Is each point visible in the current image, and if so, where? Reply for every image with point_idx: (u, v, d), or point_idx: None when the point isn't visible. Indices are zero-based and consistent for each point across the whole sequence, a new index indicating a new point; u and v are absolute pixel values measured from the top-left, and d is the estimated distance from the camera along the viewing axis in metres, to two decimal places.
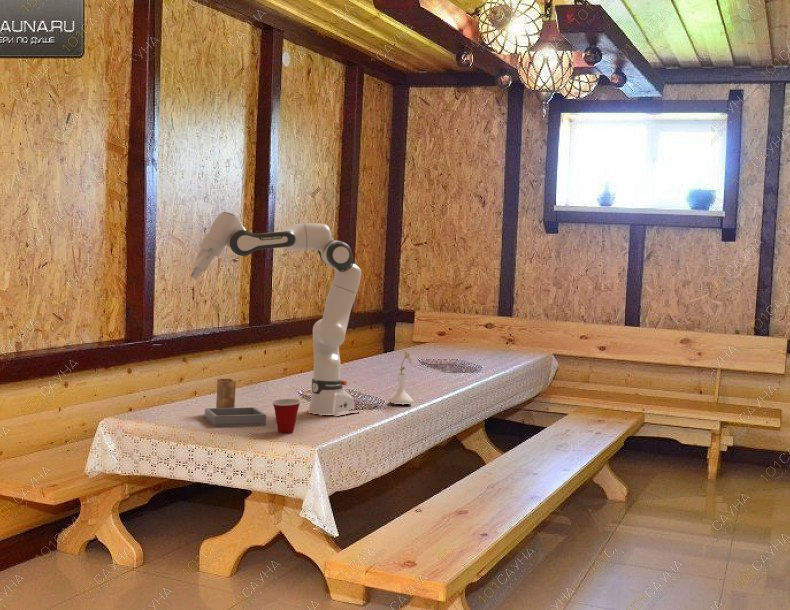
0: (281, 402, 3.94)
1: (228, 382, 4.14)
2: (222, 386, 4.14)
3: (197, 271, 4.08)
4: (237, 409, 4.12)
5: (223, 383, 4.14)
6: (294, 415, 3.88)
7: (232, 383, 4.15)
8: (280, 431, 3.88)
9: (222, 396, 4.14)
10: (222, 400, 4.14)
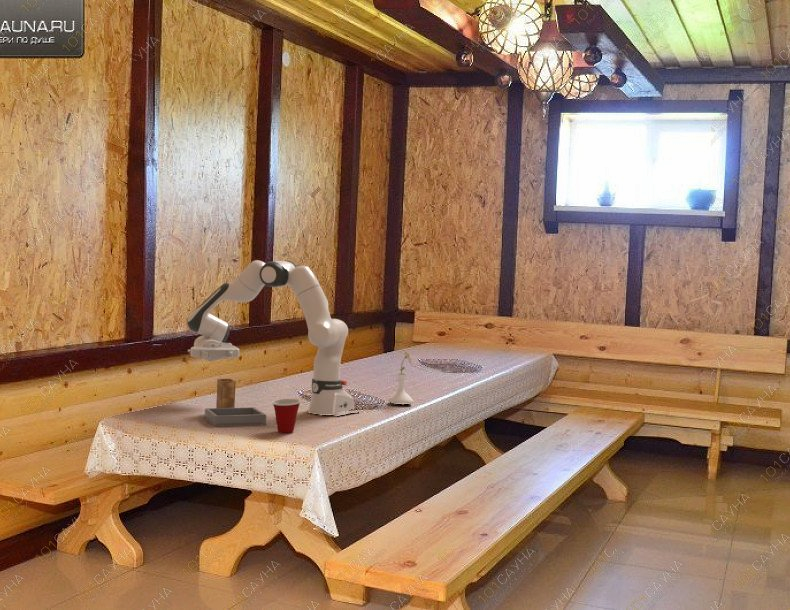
0: (281, 402, 3.94)
1: (228, 382, 4.14)
2: (222, 386, 4.14)
3: (202, 355, 4.28)
4: (237, 409, 4.12)
5: (223, 383, 4.14)
6: (294, 415, 3.88)
7: (232, 383, 4.15)
8: (280, 431, 3.88)
9: (222, 396, 4.14)
10: (222, 400, 4.14)
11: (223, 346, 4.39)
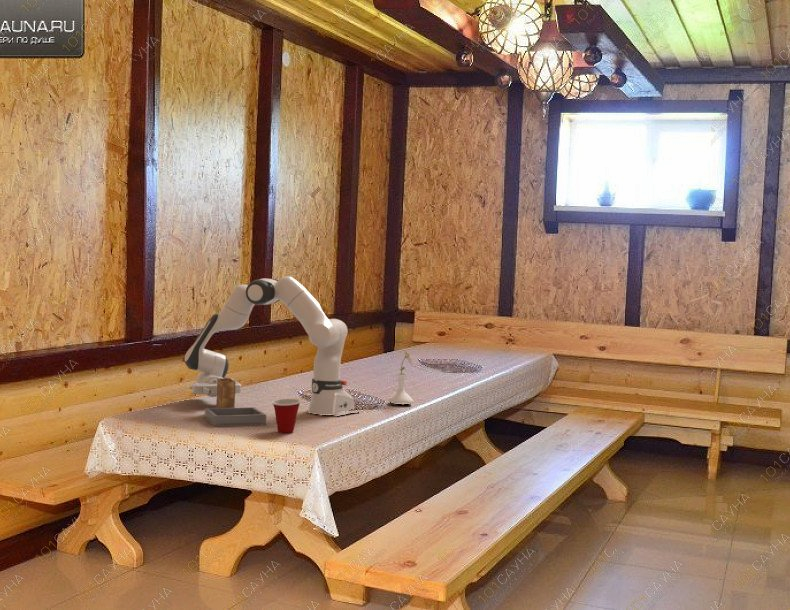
0: (281, 402, 3.94)
1: (228, 382, 4.14)
2: (222, 386, 4.14)
3: (203, 391, 4.26)
4: (237, 409, 4.12)
5: (223, 383, 4.14)
6: (294, 415, 3.88)
7: (232, 383, 4.15)
8: (280, 431, 3.88)
9: (222, 396, 4.14)
10: (222, 400, 4.14)
11: None
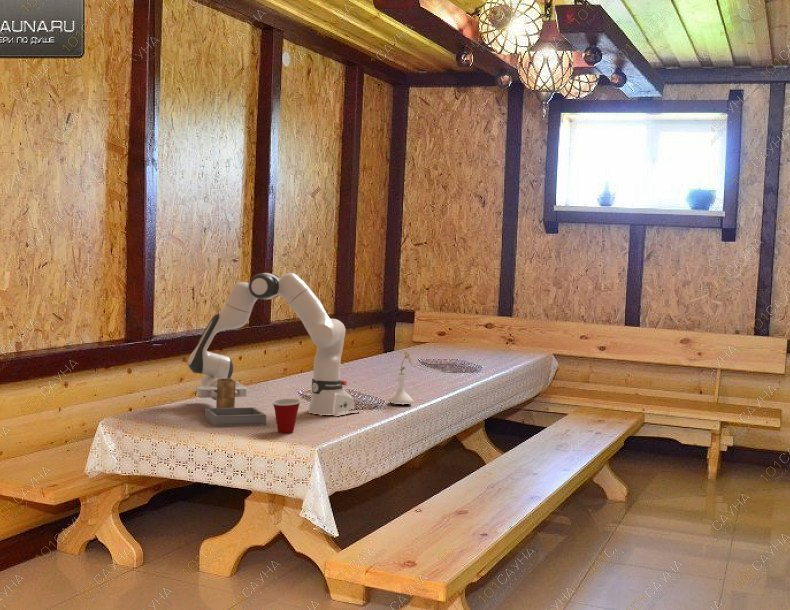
0: (281, 402, 3.94)
1: (228, 382, 4.14)
2: (222, 386, 4.14)
3: (211, 395, 4.18)
4: (237, 409, 4.12)
5: (223, 383, 4.14)
6: (294, 415, 3.88)
7: (232, 383, 4.15)
8: (280, 431, 3.88)
9: (222, 396, 4.14)
10: (222, 400, 4.14)
11: None
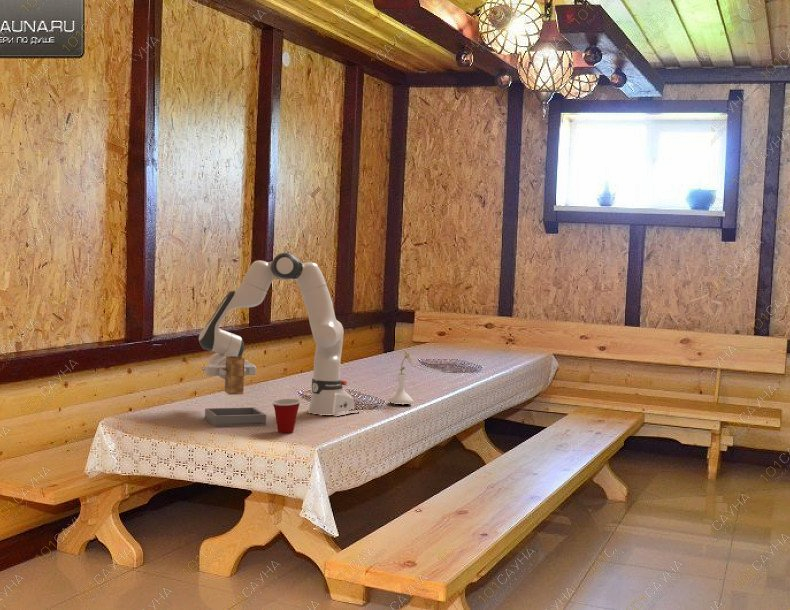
0: (281, 402, 3.94)
1: (237, 359, 4.03)
2: (231, 363, 4.02)
3: (220, 373, 4.07)
4: (237, 409, 4.12)
5: (232, 360, 4.02)
6: (294, 415, 3.88)
7: (241, 360, 4.04)
8: (280, 431, 3.88)
9: (231, 374, 4.02)
10: (231, 378, 4.03)
11: None
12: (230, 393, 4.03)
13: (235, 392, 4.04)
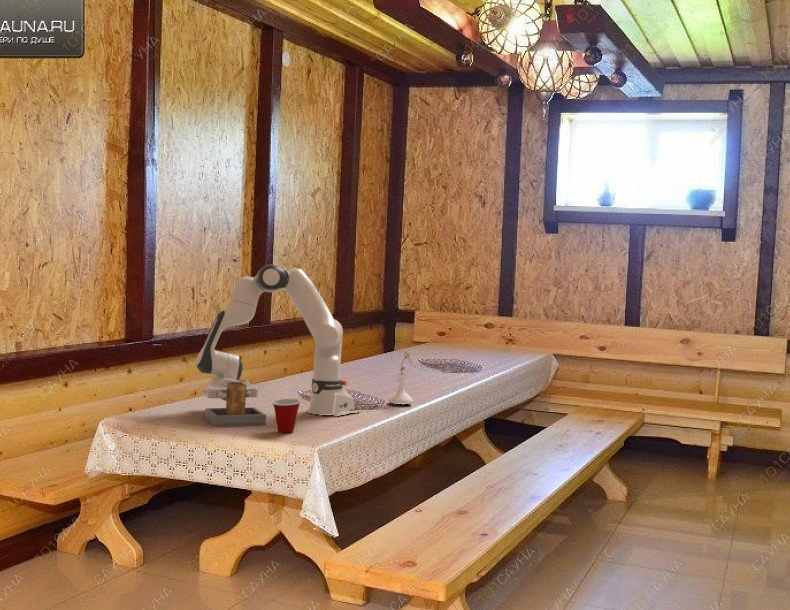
0: (281, 402, 3.94)
1: (238, 386, 4.01)
2: (232, 390, 4.00)
3: (218, 395, 4.04)
4: None
5: (233, 387, 4.00)
6: (294, 415, 3.88)
7: (243, 387, 4.01)
8: (280, 431, 3.88)
9: (232, 400, 4.00)
10: (232, 404, 4.00)
11: None
12: None
13: None
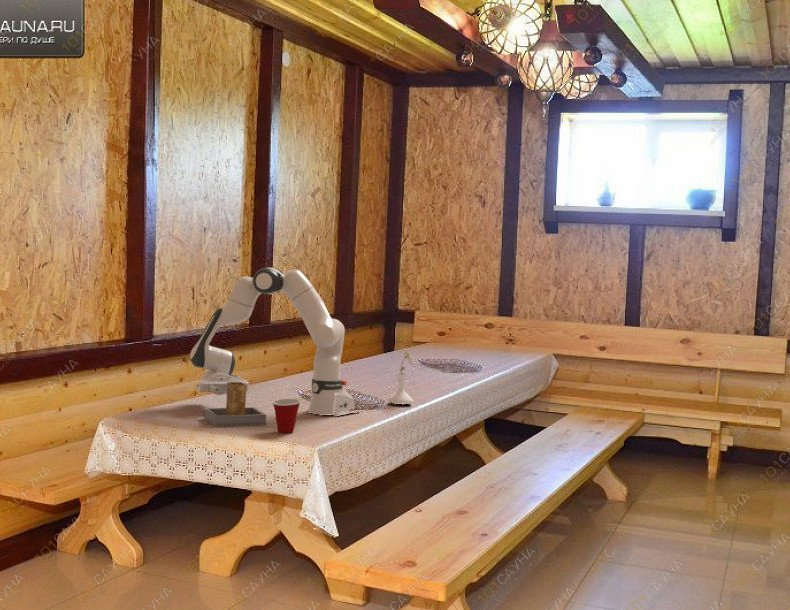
0: (281, 402, 3.94)
1: (238, 386, 4.01)
2: (232, 390, 4.00)
3: (210, 389, 4.16)
4: None
5: (233, 387, 4.00)
6: (294, 415, 3.88)
7: (243, 387, 4.01)
8: (280, 431, 3.88)
9: (232, 400, 4.00)
10: (232, 404, 4.00)
11: (232, 379, 4.26)
12: None
13: None
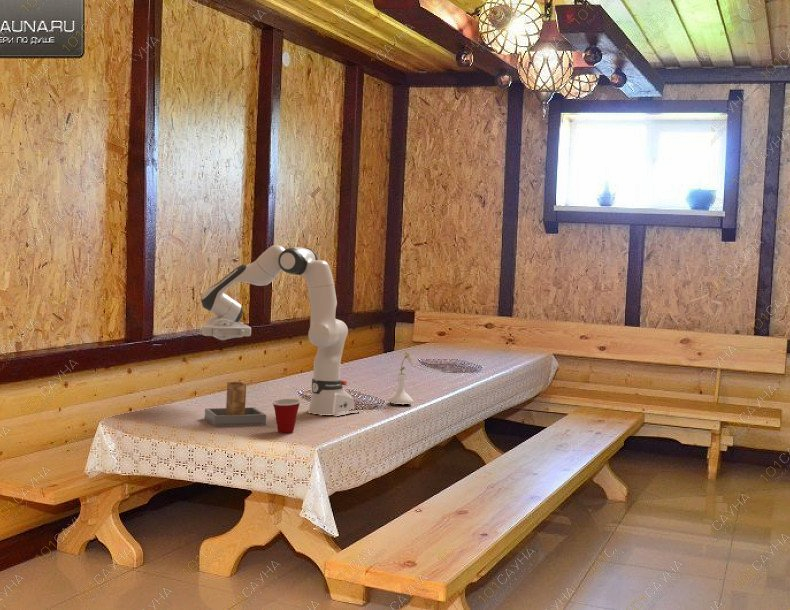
0: (281, 402, 3.94)
1: (238, 386, 4.01)
2: (232, 390, 4.00)
3: (213, 333, 4.25)
4: None
5: (233, 387, 4.00)
6: (294, 415, 3.88)
7: (243, 387, 4.01)
8: (280, 431, 3.88)
9: (232, 400, 4.00)
10: (232, 404, 4.00)
11: (235, 325, 4.36)
12: None
13: None
